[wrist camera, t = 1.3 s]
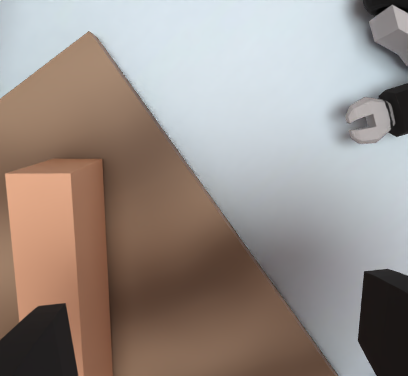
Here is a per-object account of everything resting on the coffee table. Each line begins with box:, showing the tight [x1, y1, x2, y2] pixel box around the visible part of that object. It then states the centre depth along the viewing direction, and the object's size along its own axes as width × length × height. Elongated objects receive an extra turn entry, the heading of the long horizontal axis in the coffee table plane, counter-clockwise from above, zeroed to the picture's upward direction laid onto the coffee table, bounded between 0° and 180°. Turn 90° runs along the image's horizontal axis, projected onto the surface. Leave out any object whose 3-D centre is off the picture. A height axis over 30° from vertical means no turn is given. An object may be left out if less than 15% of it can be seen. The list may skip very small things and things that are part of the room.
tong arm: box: [5, 159, 113, 376], centre depth 15 cm, size 16×3×4 cm, turn 0°
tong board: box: [0, 31, 338, 376], centre depth 16 cm, size 20×18×5 cm
